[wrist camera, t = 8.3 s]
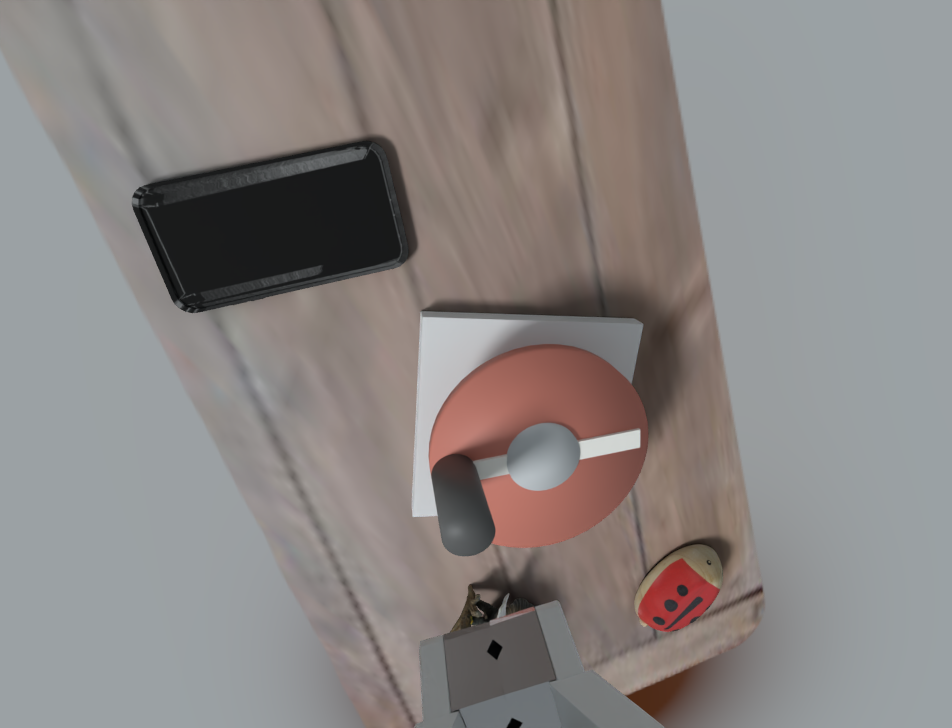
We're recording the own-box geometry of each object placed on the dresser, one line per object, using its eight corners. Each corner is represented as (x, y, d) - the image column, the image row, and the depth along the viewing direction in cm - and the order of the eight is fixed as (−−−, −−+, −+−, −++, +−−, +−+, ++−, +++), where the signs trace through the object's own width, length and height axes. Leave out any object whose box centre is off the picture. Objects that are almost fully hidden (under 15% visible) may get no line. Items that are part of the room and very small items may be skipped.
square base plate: (420, 311, 36) (426, 330, 32) (634, 318, 39) (664, 337, 35) (411, 505, 42) (415, 542, 38) (599, 498, 45) (621, 532, 41)
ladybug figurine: (727, 555, 51) (752, 582, 47) (660, 625, 52) (679, 656, 49) (682, 527, 48) (704, 554, 45) (613, 602, 50) (630, 633, 47)
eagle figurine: (424, 636, 46) (499, 691, 47) (454, 662, 39) (539, 725, 41) (472, 559, 49) (541, 613, 51) (508, 571, 42) (585, 633, 44)
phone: (124, 189, 30) (382, 137, 31) (132, 188, 31) (382, 137, 32) (180, 318, 33) (412, 266, 34) (186, 313, 34) (411, 262, 35)
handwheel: (639, 325, 34) (704, 366, 28) (638, 511, 40) (692, 583, 33) (411, 364, 33) (420, 419, 26) (444, 553, 38) (459, 638, 31)
